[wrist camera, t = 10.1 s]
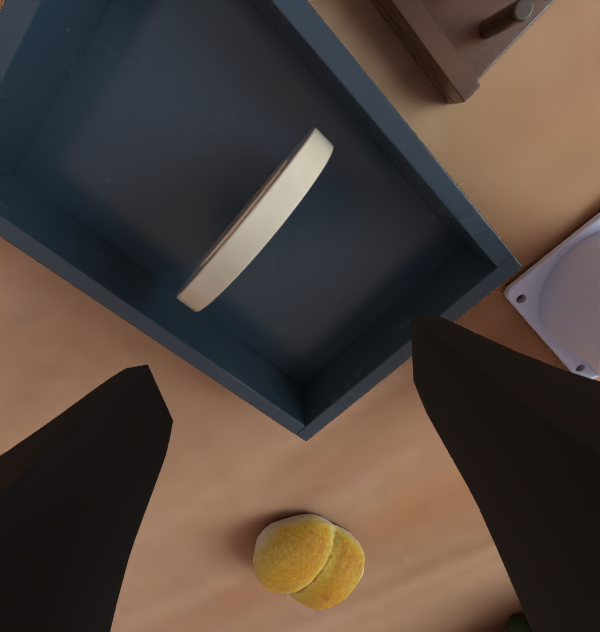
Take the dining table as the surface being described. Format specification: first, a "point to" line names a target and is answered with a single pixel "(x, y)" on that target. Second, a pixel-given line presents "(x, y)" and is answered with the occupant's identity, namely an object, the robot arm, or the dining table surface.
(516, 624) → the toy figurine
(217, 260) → the plate
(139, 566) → the dining table surface
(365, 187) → the dark blue tray
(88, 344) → the dining table surface
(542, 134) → the dining table surface
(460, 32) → the plate rack
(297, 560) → the bread roll
